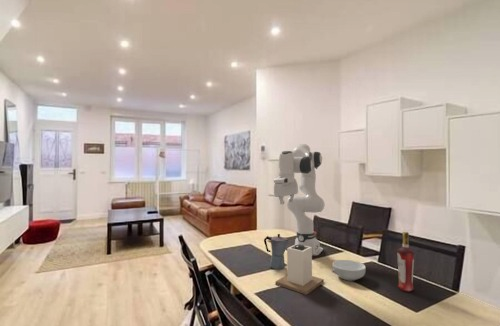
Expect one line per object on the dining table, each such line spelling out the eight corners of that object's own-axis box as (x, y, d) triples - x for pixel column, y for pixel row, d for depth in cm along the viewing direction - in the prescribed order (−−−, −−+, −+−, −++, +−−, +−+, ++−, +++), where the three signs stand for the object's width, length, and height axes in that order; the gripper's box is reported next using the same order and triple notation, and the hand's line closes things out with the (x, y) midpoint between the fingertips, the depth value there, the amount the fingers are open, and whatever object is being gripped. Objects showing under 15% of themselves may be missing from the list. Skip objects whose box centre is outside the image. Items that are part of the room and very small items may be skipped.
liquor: (394, 286, 144) (394, 230, 144) (409, 286, 144) (409, 230, 143) (401, 293, 136) (401, 234, 136) (417, 293, 136) (417, 234, 136)
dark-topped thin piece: (297, 274, 153) (297, 243, 153) (308, 277, 149) (308, 245, 148) (291, 278, 148) (290, 246, 148) (302, 281, 144) (301, 248, 144)
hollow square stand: (293, 273, 161) (293, 240, 161) (323, 282, 149) (323, 246, 149) (275, 284, 147) (275, 248, 147) (306, 294, 136) (306, 255, 135)
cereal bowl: (364, 273, 160) (364, 261, 160) (366, 286, 144) (366, 272, 144) (333, 270, 166) (333, 258, 166) (331, 281, 150) (331, 268, 150)
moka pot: (289, 271, 165) (288, 236, 164) (262, 269, 168) (262, 235, 167) (290, 265, 174) (289, 232, 174) (265, 263, 177) (264, 231, 177)
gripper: (291, 178, 174) (291, 200, 175) (271, 179, 159) (272, 204, 159) (300, 178, 170) (300, 201, 171) (281, 180, 155) (281, 205, 155)
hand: (286, 203), depth 165 cm, fingers open, 8 cm apart
